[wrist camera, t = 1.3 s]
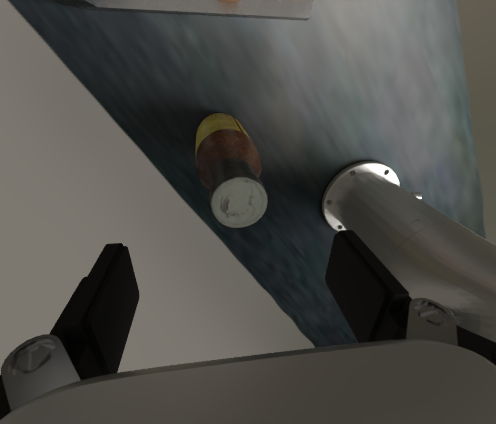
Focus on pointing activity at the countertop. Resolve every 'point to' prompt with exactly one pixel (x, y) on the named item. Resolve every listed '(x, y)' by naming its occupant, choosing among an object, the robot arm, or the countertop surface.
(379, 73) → the countertop surface
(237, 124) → the sauce bottle
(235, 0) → the sliding jaw
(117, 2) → the vise base
